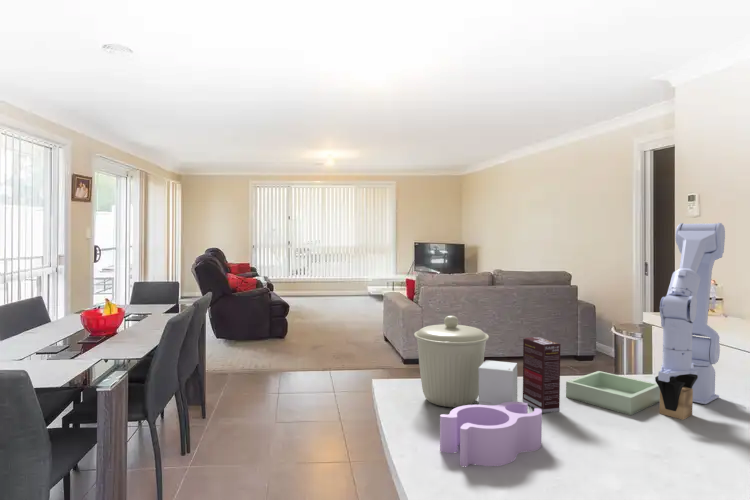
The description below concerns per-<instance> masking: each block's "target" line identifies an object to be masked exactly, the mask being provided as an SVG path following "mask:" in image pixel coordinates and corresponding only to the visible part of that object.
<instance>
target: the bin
mask: <svg viewBox="0 0 750 500" xmlns="http://www.w3.org/2000/svg"><path fill="white" fill-rule="evenodd" d="M565 398H568V399H571V400H574V401H577V402H582V403H586V404H589V405H592V406H596V407H599V408H604V409H607V410H610V411H614V412H617V413H622V414H624V415H628V416H631V415H634V414H636V413H639V412H641V411H643V410H645V409H647V408H649V407H651V406H654V405H656V404H657V403H660V388H659V386H658V384H657V383H656V382H651V381H650V382H649V381H646V380H642V379H636V378H632V377H628V376H624V375H619V374H614V373H609V372H606V371H605V372H604V371H600V370H597V371H595V372H591V373H588V374H585V375H581V376H579V377H576V378H572V379H569V380H567V381H565Z"/></svg>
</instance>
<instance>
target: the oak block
mask: <svg viewBox="0 0 750 500" xmlns="http://www.w3.org/2000/svg"><path fill="white" fill-rule="evenodd" d="M659 414H660V415H664V416H668V417H672V418H675V419H679V420H685V419H687V418H689V417H691V416H693V389H692V388H687V387H683V388H682V390H681V392H680V396H679V401H678V407H677V410H676V411H672V410H668V409H665V405H664V401H663V397H662V393H661V391H660V402H659Z"/></svg>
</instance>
